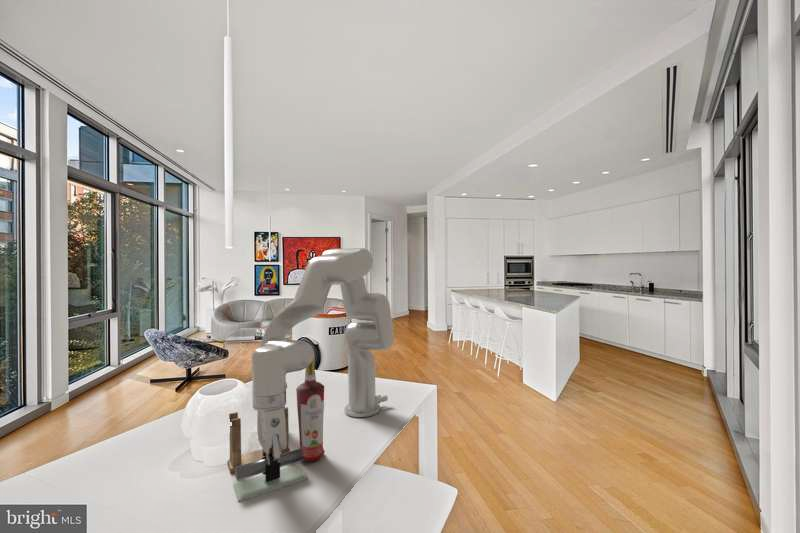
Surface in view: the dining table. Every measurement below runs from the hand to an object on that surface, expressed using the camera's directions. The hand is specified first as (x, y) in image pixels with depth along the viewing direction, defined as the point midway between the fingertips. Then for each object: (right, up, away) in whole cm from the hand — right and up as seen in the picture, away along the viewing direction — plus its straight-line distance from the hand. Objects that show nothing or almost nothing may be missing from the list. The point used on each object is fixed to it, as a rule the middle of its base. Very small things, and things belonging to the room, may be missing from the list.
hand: (271, 475), depth 87 cm
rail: (0, +3, 0) cm, 3 cm away
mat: (0, -2, 0) cm, 2 cm away
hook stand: (-7, -2, +11) cm, 13 cm away
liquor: (+7, -2, +11) cm, 13 cm away
